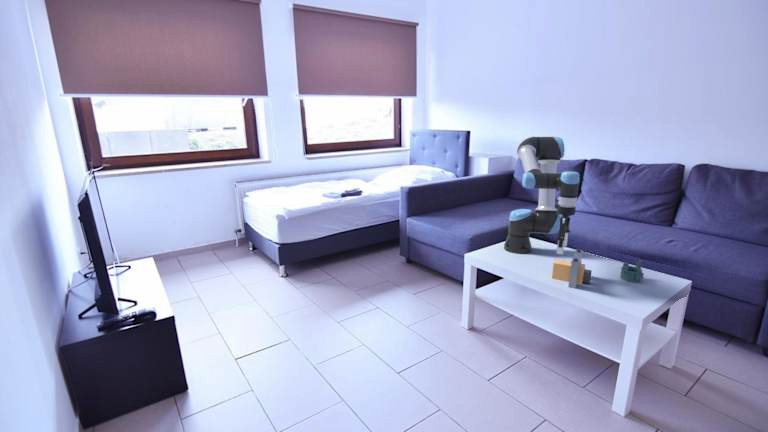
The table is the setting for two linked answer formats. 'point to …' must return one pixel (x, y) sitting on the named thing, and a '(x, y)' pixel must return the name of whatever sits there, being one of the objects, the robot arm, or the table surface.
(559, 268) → the plug
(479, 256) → the table surface
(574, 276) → the housing
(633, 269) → the teal lumpy piece
